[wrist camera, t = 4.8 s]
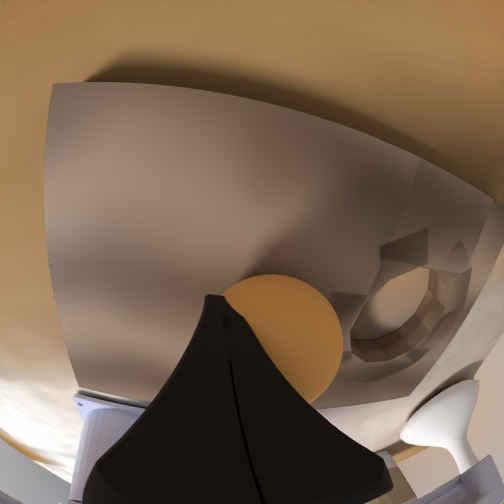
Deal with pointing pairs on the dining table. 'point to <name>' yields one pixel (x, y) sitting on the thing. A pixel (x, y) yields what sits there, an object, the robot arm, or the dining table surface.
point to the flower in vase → (446, 423)
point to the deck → (245, 230)
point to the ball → (292, 329)
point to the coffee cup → (395, 484)
